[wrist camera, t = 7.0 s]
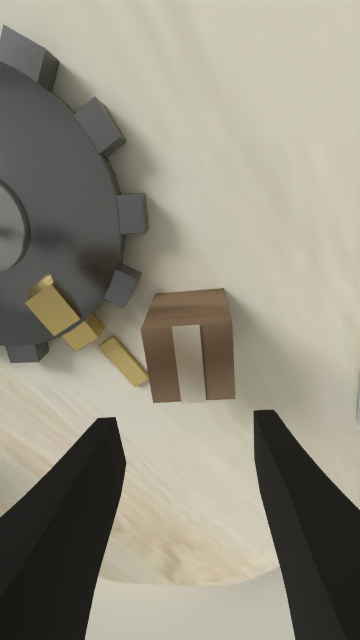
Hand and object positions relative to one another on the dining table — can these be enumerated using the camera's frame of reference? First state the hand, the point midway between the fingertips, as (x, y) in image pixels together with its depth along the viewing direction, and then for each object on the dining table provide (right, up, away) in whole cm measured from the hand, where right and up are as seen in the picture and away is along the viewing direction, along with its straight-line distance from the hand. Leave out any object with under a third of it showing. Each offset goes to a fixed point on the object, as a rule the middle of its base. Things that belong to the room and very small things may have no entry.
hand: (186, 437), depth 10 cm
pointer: (-4, +1, +10) cm, 11 cm away
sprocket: (-10, +9, +7) cm, 15 cm away
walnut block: (+1, +4, +9) cm, 10 cm away
